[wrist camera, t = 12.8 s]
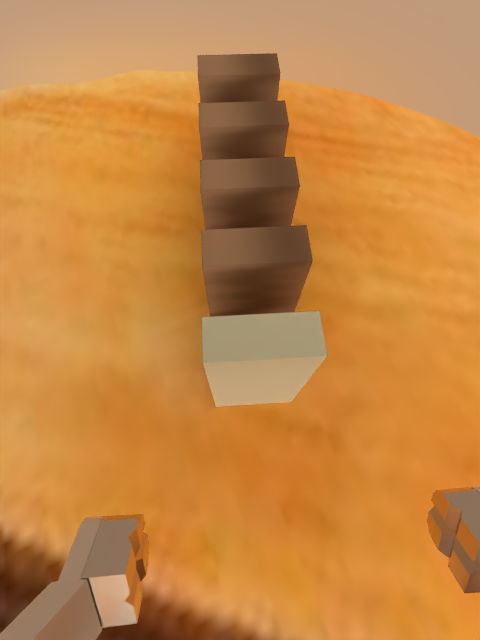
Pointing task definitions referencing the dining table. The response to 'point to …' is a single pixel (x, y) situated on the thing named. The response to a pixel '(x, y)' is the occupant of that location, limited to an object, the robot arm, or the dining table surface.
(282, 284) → the walnut domino
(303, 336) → the sage domino
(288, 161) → the walnut domino
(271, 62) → the walnut domino
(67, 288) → the dining table surface
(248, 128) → the walnut domino
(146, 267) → the dining table surface
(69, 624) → the robot arm
